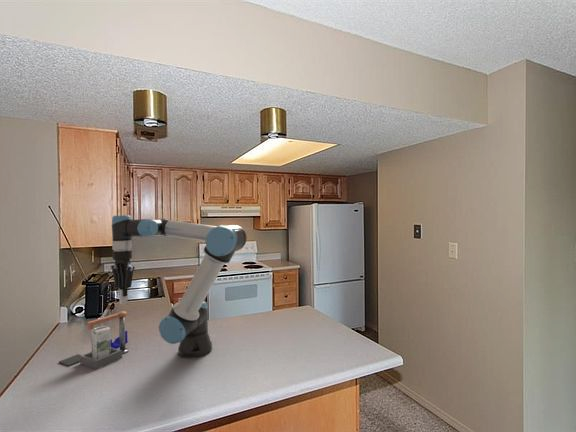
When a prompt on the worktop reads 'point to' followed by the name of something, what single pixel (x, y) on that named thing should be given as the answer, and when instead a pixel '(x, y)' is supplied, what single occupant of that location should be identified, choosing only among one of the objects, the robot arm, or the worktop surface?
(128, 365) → the worktop surface
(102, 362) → the cradle
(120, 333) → the post
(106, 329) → the syrup box
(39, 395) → the worktop surface
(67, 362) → the pad
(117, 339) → the blue stepped block
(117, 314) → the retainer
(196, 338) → the robot arm
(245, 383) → the worktop surface
